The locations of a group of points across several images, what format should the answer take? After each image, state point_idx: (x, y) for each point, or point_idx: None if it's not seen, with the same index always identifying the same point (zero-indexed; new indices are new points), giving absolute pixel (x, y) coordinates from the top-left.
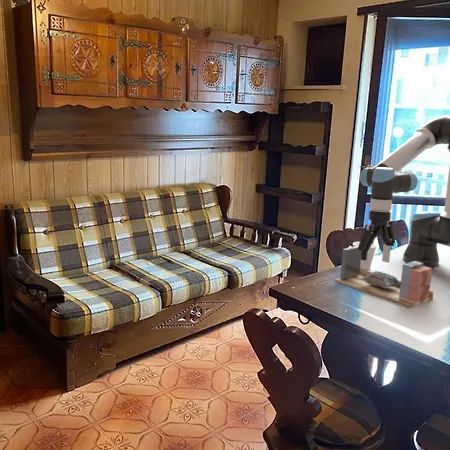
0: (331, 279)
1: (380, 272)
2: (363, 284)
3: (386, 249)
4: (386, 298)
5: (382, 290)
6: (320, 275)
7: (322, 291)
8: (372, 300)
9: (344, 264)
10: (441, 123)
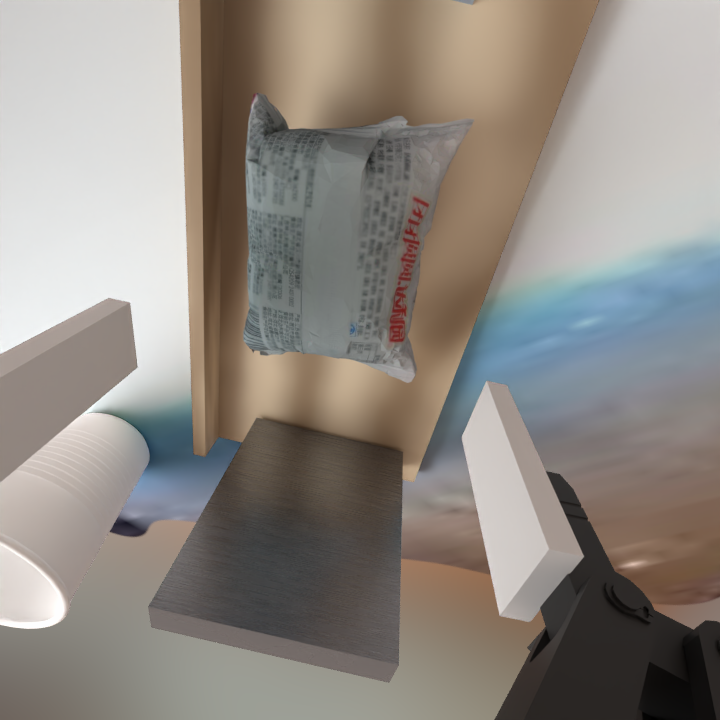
0: None
1: (297, 295)
2: None
3: (10, 420)
4: (559, 97)
5: None
6: None
7: (619, 466)
8: (630, 184)
9: (399, 535)
10: None
